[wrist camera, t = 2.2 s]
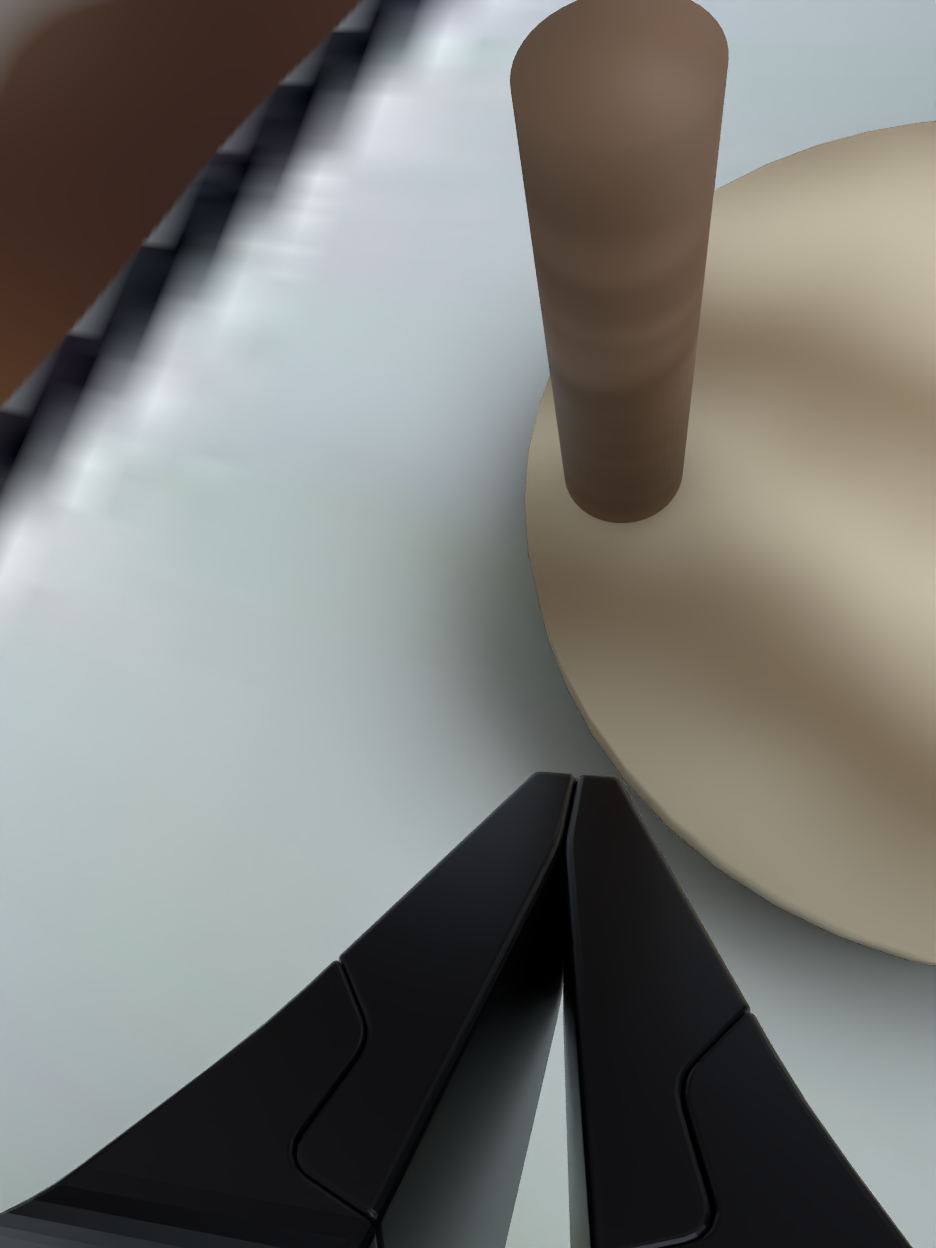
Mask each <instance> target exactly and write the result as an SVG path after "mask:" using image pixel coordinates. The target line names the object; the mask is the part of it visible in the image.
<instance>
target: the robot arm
mask: <svg viewBox="0 0 936 1248" xmlns="http://www.w3.org/2000/svg"><path fill="white" fill-rule="evenodd" d="M562 988H563V1026H564V1057H565V1088H566V1119H567V1151H568V1182H569V1213H570V1244H571V1248H912V1246H911V1245H910V1244H909V1242H908V1241H907V1240H906V1238H905V1237H904V1236H903V1234H902V1233H901V1232H900V1230H899V1229H898V1228H897V1226H896V1225H895V1223H894V1222H893V1221H892V1219H891V1218H890V1217H889V1215H888V1214H887V1213H886V1211H885V1210H884V1209H883V1207H882V1206H881V1205H880V1203H879V1202H878V1201H877V1199H876V1198H875V1197H874V1195H873V1194H872V1193H871V1191H870V1190H869V1188H868V1187H867V1186H866V1184H865V1183H864V1182H863V1180H862V1179H861V1178H860V1176H859V1175H858V1174H857V1172H856V1171H855V1170H854V1168H853V1167H852V1166H851V1164H850V1163H849V1161H848V1160H847V1159H846V1157H845V1156H844V1154H843V1153H842V1151H841V1150H840V1149H839V1147H838V1146H837V1144H836V1143H835V1142H834V1140H833V1139H832V1137H831V1136H830V1134H829V1133H828V1132H827V1130H826V1129H825V1127H824V1126H823V1125H822V1123H821V1122H820V1120H819V1119H818V1117H817V1116H816V1115H815V1113H814V1112H813V1110H812V1109H811V1108H810V1106H809V1105H808V1103H807V1102H806V1100H805V1098H804V1097H803V1095H802V1093H801V1092H800V1090H799V1089H798V1087H797V1085H796V1084H795V1082H794V1081H793V1079H792V1077H791V1076H790V1074H789V1072H788V1071H787V1069H786V1068H785V1066H784V1064H783V1063H782V1061H781V1060H780V1058H779V1056H778V1055H777V1053H776V1051H775V1050H774V1048H773V1046H772V1045H771V1043H770V1041H769V1039H768V1038H767V1036H766V1034H765V1032H764V1031H763V1029H762V1027H761V1025H760V1024H759V1022H758V1020H757V1018H756V1017H755V1015H754V1014H752V1013H750V1007H749V1005H748V1003H747V1002H746V1000H745V998H744V996H743V995H742V993H741V991H740V989H739V988H738V986H737V984H736V982H735V981H734V979H733V977H732V975H731V974H730V972H729V970H728V969H727V967H726V965H725V963H724V962H723V960H722V958H721V956H720V955H719V953H718V951H717V949H716V948H715V946H714V944H713V942H712V941H711V939H710V937H709V935H708V934H707V932H706V930H705V928H704V927H703V925H702V923H701V921H700V920H699V918H698V916H697V914H696V913H695V911H694V909H693V907H692V906H691V904H690V902H689V900H688V899H687V897H686V895H685V893H684V892H683V890H682V888H681V886H680V885H679V883H678V881H677V879H676V878H675V876H674V874H673V872H672V871H671V869H670V867H669V865H668V864H667V862H666V860H665V858H664V857H663V855H662V853H661V851H660V850H659V848H658V846H657V844H656V843H655V841H654V839H653V838H652V836H651V834H650V832H649V831H648V829H647V827H646V825H645V824H644V822H643V820H642V818H641V817H640V815H639V813H638V811H637V810H636V808H635V806H634V804H633V803H632V801H631V799H630V797H629V796H628V794H627V792H626V790H625V789H624V787H623V785H622V784H621V782H620V781H619V780H618V779H617V778H614V777H602V776H588V775H583V776H580V777H579V778H578V779H577V782H576V779H575V777H574V776H573V775H571V774H563V773H550V772H537V773H534V774H533V775H532V776H531V777H530V778H529V779H528V780H526V781H525V782H524V783H523V784H522V785H521V786H520V787H519V788H518V789H517V790H516V791H515V792H514V793H513V794H512V795H510V796H509V797H508V798H507V799H506V800H505V801H504V802H503V803H502V804H501V805H500V806H499V807H498V808H497V809H496V810H494V811H493V812H492V813H491V814H490V815H489V816H488V817H487V818H486V819H485V820H484V821H483V822H482V823H481V824H480V825H478V826H477V827H476V828H475V829H474V830H473V831H472V832H471V833H470V834H469V835H468V836H467V837H466V838H465V839H464V840H463V841H461V842H460V843H459V844H458V845H457V846H456V847H455V848H454V849H453V850H452V851H451V852H450V853H449V854H448V855H447V856H445V857H444V858H443V859H442V860H441V861H440V862H439V863H438V864H437V865H436V866H435V867H434V868H433V869H432V870H431V871H429V872H428V873H427V874H426V875H425V876H424V877H423V878H422V879H421V880H420V881H419V882H418V883H417V884H416V885H415V886H413V887H412V888H411V889H410V890H409V891H408V892H407V893H406V894H405V895H404V896H403V897H402V898H401V899H400V900H399V901H398V902H396V903H395V904H394V905H393V906H392V907H391V908H390V909H389V910H388V911H387V912H386V913H385V914H384V915H383V916H382V917H380V918H379V919H378V920H377V921H376V922H375V923H374V924H373V925H372V926H371V927H370V928H369V929H368V930H367V931H366V932H364V933H363V934H362V935H361V936H360V937H359V938H358V939H357V940H356V941H355V942H354V943H353V944H352V945H351V946H350V947H348V948H347V949H346V950H345V951H344V952H343V953H342V954H341V955H340V957H339V961H333V962H332V963H331V964H330V965H329V966H328V967H327V968H326V969H325V970H323V971H322V972H321V973H320V974H319V975H318V976H317V977H316V978H315V979H314V980H313V981H312V982H311V983H310V984H309V985H307V986H306V987H305V988H304V989H303V990H302V991H301V992H300V993H298V994H297V995H296V996H295V997H294V998H293V999H292V1000H291V1001H289V1002H288V1003H287V1004H286V1005H285V1006H284V1007H283V1008H282V1009H280V1010H279V1011H278V1012H277V1013H276V1014H275V1015H274V1016H272V1017H271V1018H270V1019H269V1020H268V1021H267V1022H266V1023H265V1024H263V1025H262V1026H261V1027H260V1028H258V1029H257V1030H256V1031H255V1032H253V1033H252V1034H251V1035H250V1036H248V1037H247V1038H246V1039H245V1040H243V1041H242V1042H241V1043H240V1044H238V1045H237V1046H236V1047H234V1048H233V1049H232V1050H231V1051H229V1052H228V1053H227V1054H226V1055H224V1056H223V1057H222V1058H221V1059H219V1060H218V1061H217V1062H216V1063H214V1064H213V1065H212V1066H211V1067H209V1068H208V1069H207V1070H205V1071H204V1072H203V1073H201V1074H200V1075H199V1076H197V1077H196V1078H195V1079H193V1080H192V1081H191V1082H189V1083H188V1084H187V1085H186V1086H184V1087H183V1088H182V1089H180V1090H179V1091H178V1092H176V1093H175V1094H174V1095H172V1096H171V1097H170V1098H168V1099H167V1100H166V1101H164V1102H163V1103H162V1104H160V1105H159V1106H158V1107H157V1108H155V1109H154V1110H153V1111H151V1112H150V1113H149V1114H147V1115H146V1116H145V1117H143V1118H142V1119H141V1120H139V1121H138V1122H137V1123H135V1124H134V1125H133V1126H131V1127H130V1128H129V1129H128V1130H126V1131H125V1132H124V1133H122V1134H121V1135H120V1136H118V1137H117V1138H116V1139H114V1140H113V1141H112V1142H110V1143H109V1144H108V1145H106V1146H105V1147H104V1148H102V1149H101V1150H100V1151H99V1152H97V1153H96V1154H95V1155H93V1156H92V1157H91V1158H89V1159H88V1160H87V1161H85V1162H84V1163H83V1164H81V1165H80V1166H79V1167H77V1168H76V1169H74V1170H73V1171H72V1172H70V1173H69V1174H67V1175H66V1176H64V1177H63V1178H62V1179H60V1180H59V1181H57V1182H56V1183H55V1184H53V1185H51V1186H50V1187H48V1188H46V1189H45V1190H43V1191H41V1192H40V1193H38V1194H36V1195H35V1196H33V1197H31V1198H30V1199H28V1200H26V1201H24V1202H22V1203H20V1204H18V1205H16V1206H14V1207H12V1208H10V1209H8V1210H6V1211H4V1212H2V1213H0V1248H505V1244H506V1240H507V1235H508V1231H509V1227H510V1222H511V1218H512V1214H513V1209H514V1205H515V1200H516V1196H517V1192H518V1187H519V1183H520V1179H521V1174H522V1170H523V1166H524V1161H525V1157H526V1152H527V1148H528V1144H529V1139H530V1135H531V1131H532V1126H533V1122H534V1118H535V1113H536V1109H537V1105H538V1100H539V1096H540V1091H541V1087H542V1083H543V1078H544V1074H545V1070H546V1065H547V1061H548V1057H549V1052H550V1048H551V1043H552V1039H553V1035H554V1030H555V1026H556V1022H557V1017H558V1012H559V1007H560V1001H561V996H562Z"/></svg>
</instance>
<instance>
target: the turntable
mask: <svg viewBox="0 0 936 1248" xmlns="http://www.w3.org/2000/svg"><path fill="white" fill-rule="evenodd" d="M727 68H728V45H727V40H726V37H725V35H724V33H723V30H722V28H721V27H720V25H719V24H718V22H717V21H716V20H715V19H714V18H713V16H712V15H711V14H710V13H709V12H707V11H706V10H705V9H704V8H702V7H701V6H700V5H698V4H696V3H694V2H693V1H691V0H577V1H575V2H573V3H571V4H569V5H567V6H565V7H563V8H561V9H559V10H558V11H556V12H554V13H553V14H551V15H550V16H548V17H547V18H546V19H545V20H543V21H542V22H541V23H540V24H539V25H538V26H537V27H535V28H534V29H533V30H532V31H531V33H530V34H529V35H528V36H527V37H526V39H525V40H524V41H523V43H522V45H521V46H520V48H519V49H518V51H517V54H516V56H515V58H514V61H513V64H512V68H511V75H510V85H511V95H512V102H513V109H514V116H515V123H516V131H517V138H518V145H519V152H520V160H521V167H522V174H523V181H524V188H525V196H526V203H527V210H528V217H529V225H530V232H531V239H532V246H533V253H534V261H535V268H536V275H537V282H538V290H539V297H540V304H541V311H542V319H543V326H544V333H545V340H546V347H547V355H548V362H549V369H550V378H549V380H548V383H547V385H546V388H545V391H544V393H543V396H542V399H541V401H540V404H539V407H538V412H537V416H536V421H535V425H534V430H533V434H532V439H531V443H530V448H529V452H528V464H527V477H526V491H525V515H526V529H527V543H528V555H529V560H530V564H531V569H532V573H533V578H534V582H535V587H536V592H537V596H538V601H539V605H540V609H541V613H542V617H543V621H544V625H545V628H546V632H547V636H548V639H549V642H550V644H551V647H552V650H553V652H554V655H555V658H556V660H557V663H558V666H559V669H560V671H561V674H562V677H563V679H564V682H565V685H566V687H567V689H568V691H569V693H570V694H571V696H572V698H573V700H574V702H575V704H576V706H577V708H578V709H579V711H580V713H581V715H582V717H583V719H584V721H585V722H586V724H587V726H588V728H589V730H590V732H591V734H592V735H593V737H594V738H595V740H596V741H597V742H598V744H599V745H600V746H601V748H602V749H603V751H604V752H605V753H606V755H607V756H608V758H609V759H610V760H611V762H612V763H613V765H614V766H615V767H616V769H617V770H618V771H619V773H620V774H621V776H622V777H623V778H624V780H625V781H626V783H627V784H628V785H629V786H630V787H631V788H632V789H633V790H634V791H635V792H636V793H637V794H638V795H639V796H640V798H641V799H642V800H643V801H644V802H645V803H646V804H647V805H648V806H649V807H650V808H651V809H652V810H653V811H654V813H655V814H656V815H657V816H658V817H659V818H660V819H661V820H662V821H663V822H664V823H665V824H666V825H667V826H668V827H669V828H670V829H671V830H672V831H673V832H675V833H676V834H677V835H678V836H679V837H681V838H682V839H683V840H684V841H685V842H687V843H688V844H689V845H690V846H691V847H693V848H694V849H695V850H696V851H697V852H699V853H700V854H701V855H702V856H703V857H704V858H706V859H707V860H708V861H709V862H710V863H712V864H713V865H714V866H715V867H716V868H718V869H719V870H721V871H722V872H724V873H725V874H727V875H728V876H730V877H732V878H733V879H735V880H736V881H738V882H739V883H741V884H742V885H744V886H745V887H747V888H749V889H750V890H752V891H753V892H755V893H756V894H758V895H759V896H761V897H762V898H764V899H766V900H767V901H769V902H770V903H772V904H773V905H775V906H777V907H779V908H781V909H783V910H785V911H787V912H789V913H791V914H793V915H795V916H797V917H800V918H802V919H804V920H806V921H808V922H810V923H812V924H814V925H816V926H818V927H820V928H822V929H824V930H826V931H828V932H830V933H832V934H834V935H836V936H839V937H842V938H845V939H847V940H850V941H853V942H856V943H859V944H862V945H865V946H868V947H870V948H873V949H876V950H879V951H882V952H885V953H888V954H890V955H893V956H896V957H899V958H902V959H905V960H909V961H914V962H918V963H923V964H927V965H932V966H936V121H931V122H921V123H915V124H909V125H903V126H897V127H891V128H886V129H880V130H874V131H868V132H864V133H861V134H857V135H853V136H850V137H846V138H842V139H838V140H835V141H831V142H827V143H824V144H820V145H816V146H814V147H811V148H808V149H806V150H803V151H800V152H798V153H795V154H792V155H790V156H787V157H784V158H782V159H779V160H776V161H774V162H771V163H769V164H766V165H764V166H762V167H760V168H758V169H756V170H754V171H752V172H750V173H748V174H746V175H744V176H742V177H740V178H738V179H736V180H734V181H732V182H730V183H728V184H726V185H724V186H722V187H720V188H719V189H717V190H716V191H714V186H715V177H716V168H717V159H718V150H719V141H720V132H721V123H722V114H723V105H724V96H725V87H726V77H727Z"/></svg>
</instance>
